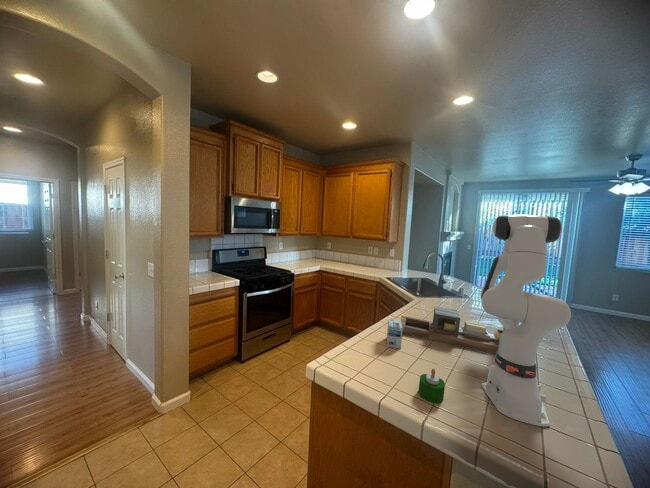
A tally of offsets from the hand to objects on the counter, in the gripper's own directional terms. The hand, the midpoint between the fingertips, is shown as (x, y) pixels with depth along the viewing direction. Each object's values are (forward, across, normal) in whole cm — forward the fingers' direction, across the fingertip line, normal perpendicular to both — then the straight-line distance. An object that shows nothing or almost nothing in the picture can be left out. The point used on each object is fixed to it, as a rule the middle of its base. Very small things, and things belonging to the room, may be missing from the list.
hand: (506, 336), depth 132 cm
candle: (+7, -59, +37) cm, 70 cm away
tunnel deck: (+7, 0, +26) cm, 27 cm away
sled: (+2, 0, +14) cm, 14 cm away
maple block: (+3, 0, +14) cm, 15 cm away
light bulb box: (+7, -24, +54) cm, 59 cm away
